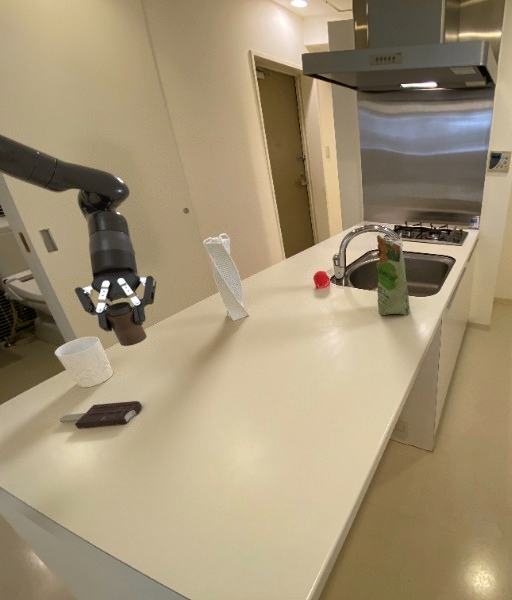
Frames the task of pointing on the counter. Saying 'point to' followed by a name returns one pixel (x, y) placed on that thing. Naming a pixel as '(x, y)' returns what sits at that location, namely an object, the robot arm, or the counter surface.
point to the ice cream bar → (105, 415)
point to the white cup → (85, 361)
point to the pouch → (391, 279)
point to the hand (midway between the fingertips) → (124, 326)
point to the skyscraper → (226, 276)
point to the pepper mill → (125, 324)
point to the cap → (321, 280)
